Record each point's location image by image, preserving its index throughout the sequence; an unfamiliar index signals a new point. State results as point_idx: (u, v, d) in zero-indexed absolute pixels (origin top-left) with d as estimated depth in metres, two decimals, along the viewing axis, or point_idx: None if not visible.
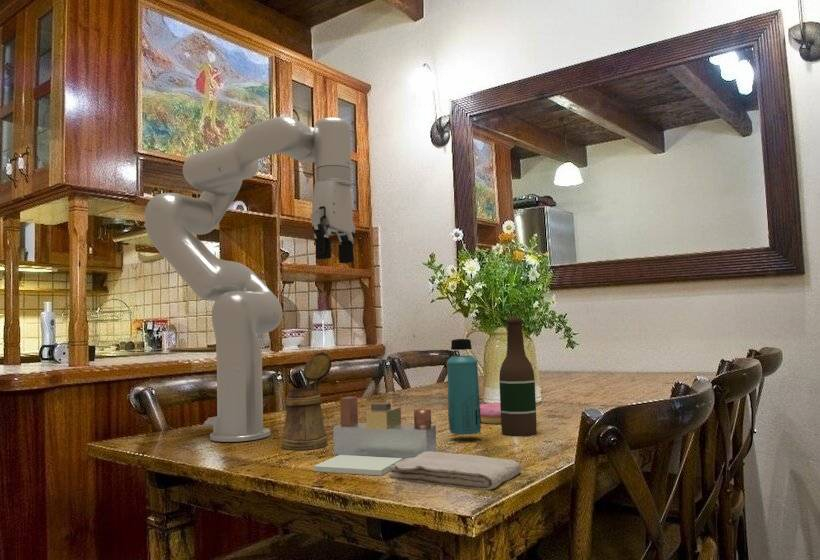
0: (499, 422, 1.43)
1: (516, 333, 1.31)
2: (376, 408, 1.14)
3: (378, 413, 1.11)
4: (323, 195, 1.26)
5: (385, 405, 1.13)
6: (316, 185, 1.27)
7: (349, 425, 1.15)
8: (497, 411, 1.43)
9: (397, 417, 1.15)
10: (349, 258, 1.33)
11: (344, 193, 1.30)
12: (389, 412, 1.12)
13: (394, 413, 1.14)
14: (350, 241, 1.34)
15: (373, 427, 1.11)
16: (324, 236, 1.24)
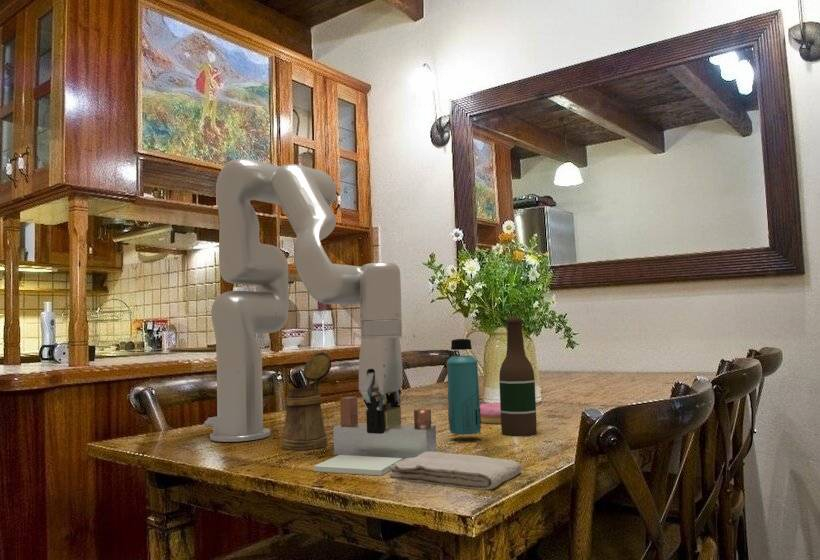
0: (499, 422, 1.43)
1: (516, 333, 1.31)
2: None
3: None
4: (372, 356, 1.10)
5: (385, 405, 1.13)
6: (363, 342, 1.12)
7: (349, 425, 1.15)
8: (497, 411, 1.43)
9: (397, 417, 1.15)
10: None
11: (394, 349, 1.14)
12: (389, 412, 1.12)
13: (394, 413, 1.14)
14: (396, 401, 1.17)
15: None
16: (377, 410, 1.10)
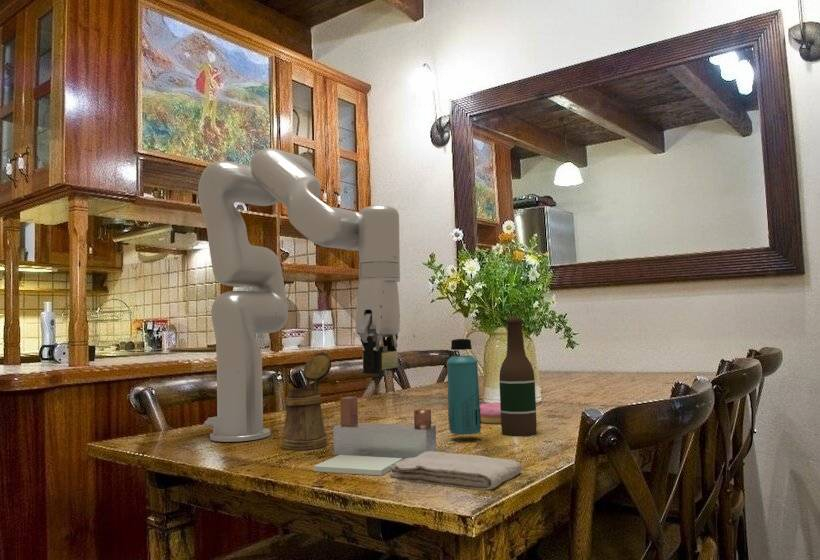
0: (499, 422, 1.43)
1: (516, 333, 1.31)
2: None
3: None
4: (369, 297, 1.11)
5: (382, 347, 1.14)
6: (361, 283, 1.12)
7: (349, 425, 1.15)
8: (497, 411, 1.43)
9: (393, 360, 1.16)
10: None
11: (391, 292, 1.15)
12: (386, 353, 1.13)
13: (391, 355, 1.15)
14: (393, 345, 1.18)
15: None
16: (374, 350, 1.11)
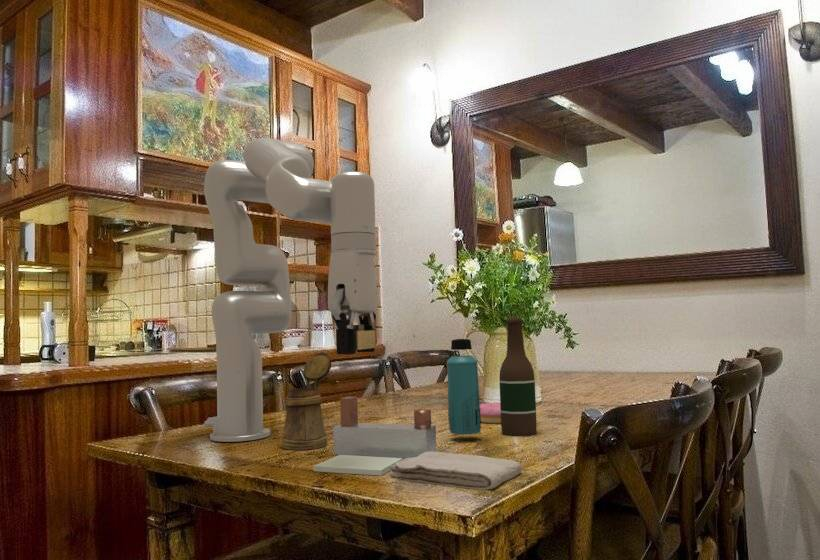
0: (499, 422, 1.43)
1: (516, 333, 1.31)
2: None
3: None
4: (342, 270, 1.02)
5: (357, 325, 1.04)
6: (333, 256, 1.03)
7: (349, 425, 1.15)
8: (497, 411, 1.44)
9: (371, 340, 1.06)
10: None
11: (367, 265, 1.05)
12: (361, 332, 1.03)
13: (368, 335, 1.05)
14: (370, 324, 1.09)
15: None
16: (347, 328, 1.01)
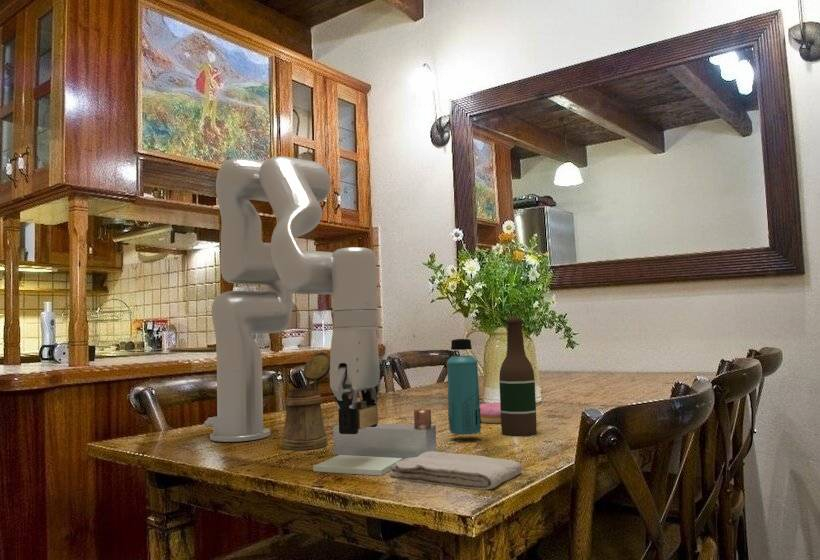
0: (499, 422, 1.44)
1: (516, 333, 1.31)
2: None
3: None
4: (344, 349, 1.01)
5: (360, 403, 1.03)
6: (335, 334, 1.02)
7: None
8: (497, 411, 1.44)
9: (373, 416, 1.05)
10: None
11: (369, 341, 1.04)
12: (364, 410, 1.02)
13: (370, 412, 1.04)
14: (373, 399, 1.08)
15: None
16: (350, 408, 1.00)
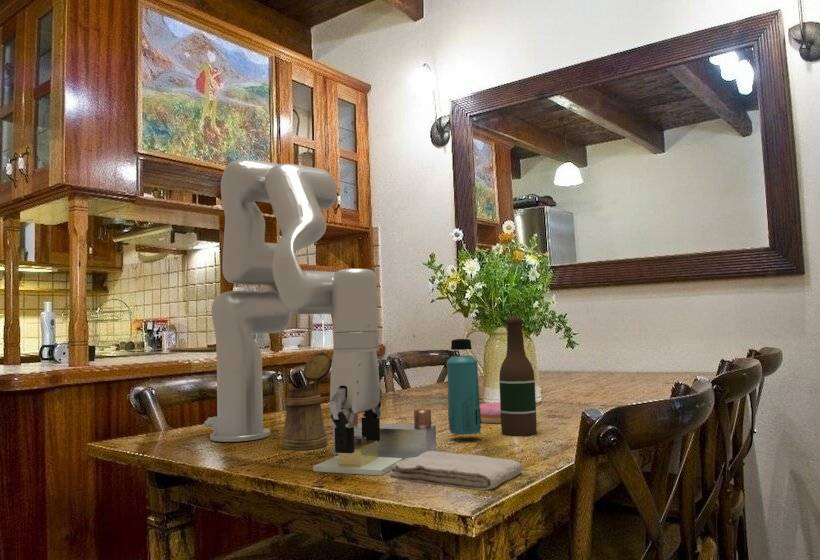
0: (499, 422, 1.44)
1: (516, 333, 1.31)
2: None
3: None
4: (344, 371, 1.00)
5: (360, 439, 1.03)
6: (335, 356, 1.02)
7: None
8: (497, 411, 1.44)
9: (373, 452, 1.05)
10: (375, 437, 1.08)
11: (369, 363, 1.04)
12: (364, 447, 1.02)
13: (370, 448, 1.04)
14: (376, 415, 1.09)
15: (346, 464, 1.01)
16: (346, 426, 0.99)
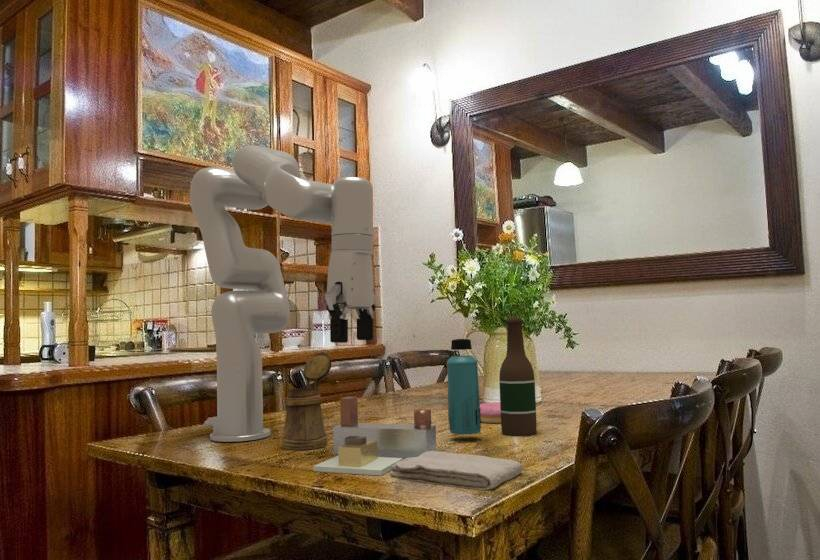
0: (498, 421, 1.44)
1: (516, 333, 1.31)
2: (350, 442, 1.04)
3: (352, 449, 1.01)
4: (340, 269, 1.10)
5: (360, 439, 1.03)
6: (332, 255, 1.11)
7: (349, 425, 1.15)
8: (496, 410, 1.44)
9: (373, 452, 1.05)
10: (368, 335, 1.17)
11: (364, 265, 1.13)
12: (364, 447, 1.02)
13: (370, 448, 1.04)
14: (370, 315, 1.18)
15: (346, 464, 1.01)
16: (340, 317, 1.08)
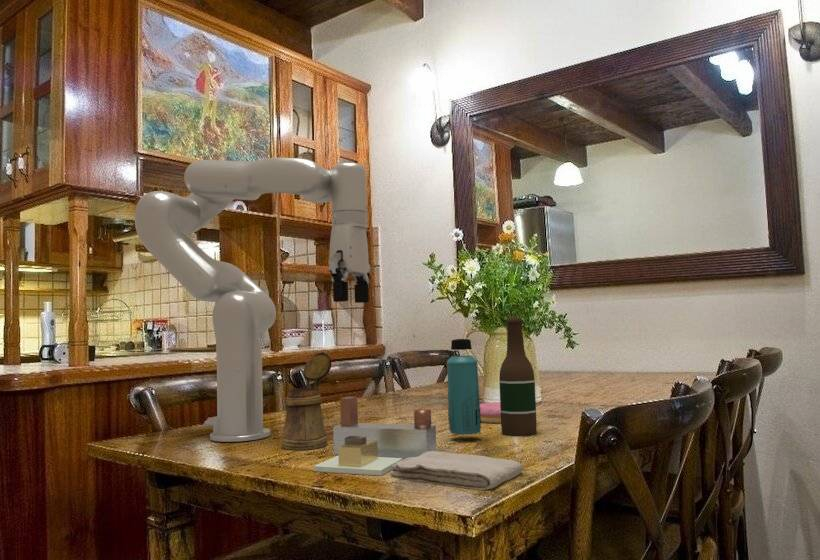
0: (498, 421, 1.44)
1: (516, 333, 1.31)
2: (350, 442, 1.04)
3: (352, 449, 1.01)
4: (340, 239, 1.30)
5: (360, 439, 1.03)
6: (333, 229, 1.31)
7: (349, 425, 1.15)
8: (496, 410, 1.44)
9: (373, 452, 1.05)
10: (364, 298, 1.37)
11: (360, 236, 1.33)
12: (364, 447, 1.02)
13: (370, 448, 1.04)
14: (365, 281, 1.38)
15: (346, 464, 1.01)
16: (341, 280, 1.28)
